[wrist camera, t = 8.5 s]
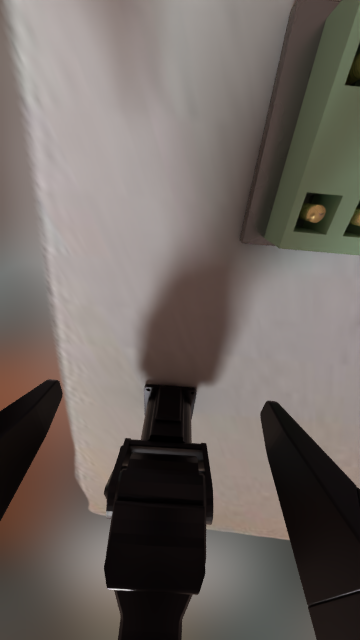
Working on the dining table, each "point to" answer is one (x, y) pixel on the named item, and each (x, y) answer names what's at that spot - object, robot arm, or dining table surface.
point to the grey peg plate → (289, 118)
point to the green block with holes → (325, 147)
